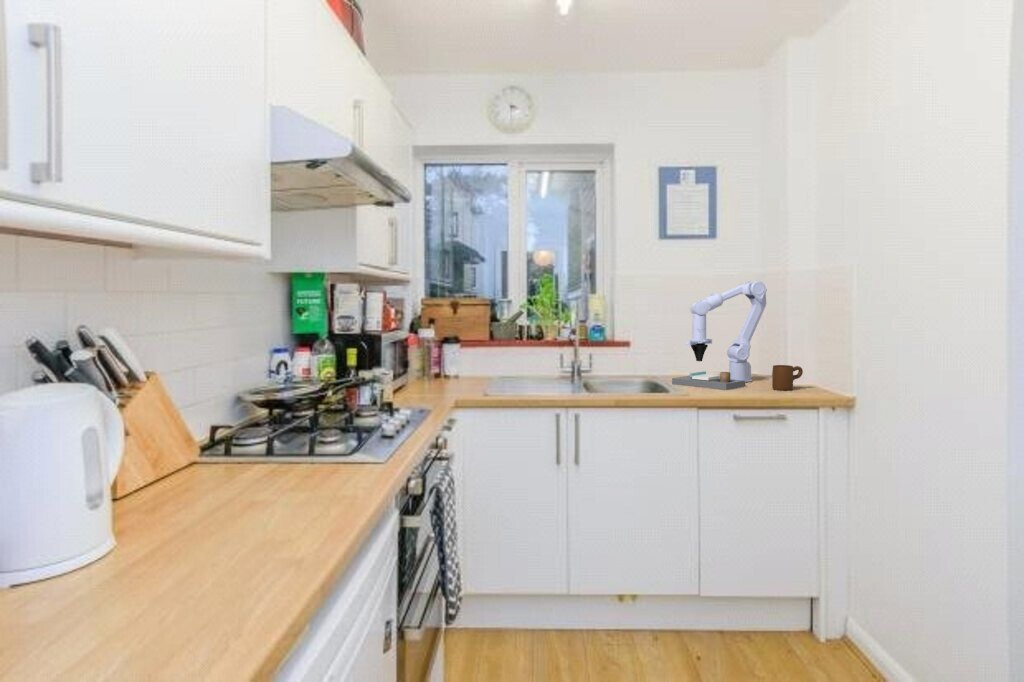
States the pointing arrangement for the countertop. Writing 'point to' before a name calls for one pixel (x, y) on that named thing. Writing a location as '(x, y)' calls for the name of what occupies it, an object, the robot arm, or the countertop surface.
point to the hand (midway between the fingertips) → (699, 361)
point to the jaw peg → (724, 376)
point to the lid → (703, 376)
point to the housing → (708, 383)
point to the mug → (784, 377)
